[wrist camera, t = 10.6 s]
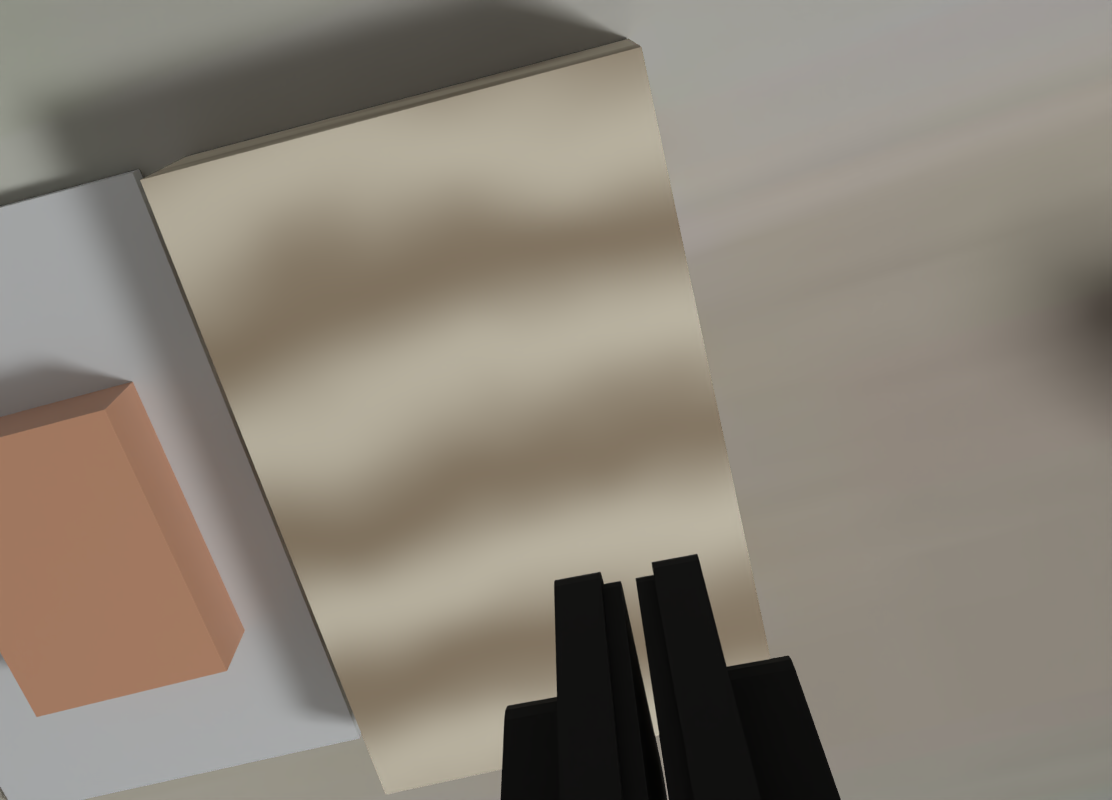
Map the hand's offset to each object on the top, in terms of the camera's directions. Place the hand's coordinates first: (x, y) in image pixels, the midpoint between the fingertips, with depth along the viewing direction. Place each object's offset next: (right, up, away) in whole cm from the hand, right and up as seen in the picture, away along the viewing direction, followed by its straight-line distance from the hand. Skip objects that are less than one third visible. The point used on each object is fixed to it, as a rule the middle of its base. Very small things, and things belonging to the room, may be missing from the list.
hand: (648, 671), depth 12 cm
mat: (-18, -1, +25) cm, 31 cm away
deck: (-3, +2, +24) cm, 24 cm away
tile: (-17, -2, +23) cm, 29 cm away
